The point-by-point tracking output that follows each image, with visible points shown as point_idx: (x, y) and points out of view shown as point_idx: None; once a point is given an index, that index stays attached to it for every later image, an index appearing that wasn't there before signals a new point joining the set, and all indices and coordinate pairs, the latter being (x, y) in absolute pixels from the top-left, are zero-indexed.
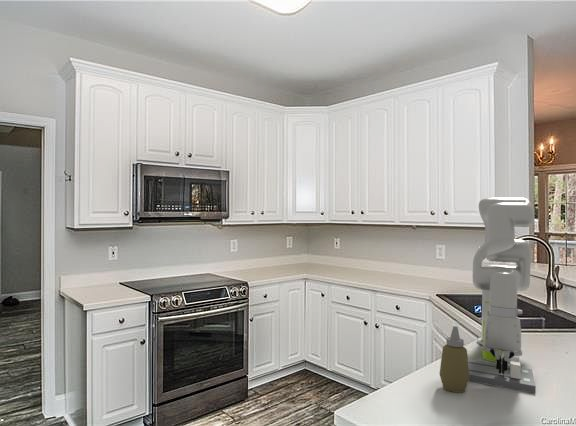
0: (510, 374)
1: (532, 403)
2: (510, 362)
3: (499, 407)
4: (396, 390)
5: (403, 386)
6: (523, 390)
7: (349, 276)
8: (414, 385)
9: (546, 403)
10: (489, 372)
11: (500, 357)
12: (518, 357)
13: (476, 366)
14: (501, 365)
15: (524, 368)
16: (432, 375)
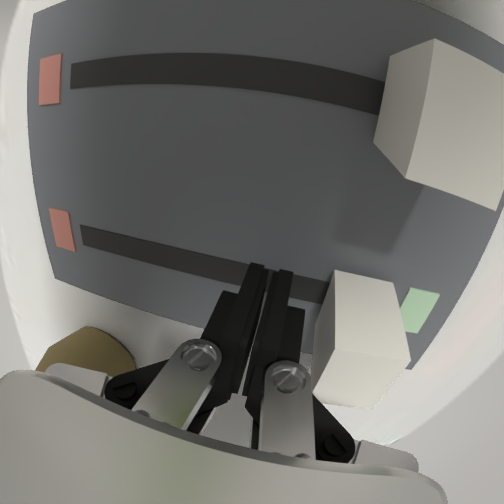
0: (318, 324)
1: (341, 409)
2: (388, 158)
3: (233, 427)
4: (37, 355)
5: (31, 338)
6: None
7: None
8: (39, 332)
9: (390, 401)
10: (195, 241)
11: (222, 403)
12: (494, 192)
13: (114, 141)
14: (245, 366)
15: (496, 60)
16: (26, 253)
